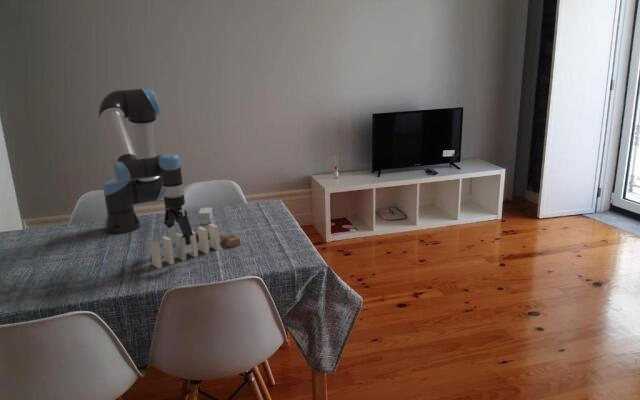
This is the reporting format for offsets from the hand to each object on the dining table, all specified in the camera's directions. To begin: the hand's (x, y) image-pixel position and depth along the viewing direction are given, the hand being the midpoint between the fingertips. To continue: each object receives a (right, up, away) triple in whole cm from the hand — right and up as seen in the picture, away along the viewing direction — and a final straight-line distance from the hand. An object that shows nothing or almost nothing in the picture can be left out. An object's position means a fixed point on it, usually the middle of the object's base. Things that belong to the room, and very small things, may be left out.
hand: (180, 247), depth 197 cm
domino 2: (-4, -6, -2) cm, 7 cm away
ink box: (+5, +3, +25) cm, 26 cm away
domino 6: (+12, -1, +10) cm, 16 cm away
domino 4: (+4, -3, +4) cm, 7 cm away
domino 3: (0, -5, +1) cm, 5 cm away
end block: (+17, 0, +15) cm, 22 cm away
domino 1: (-7, -7, -5) cm, 11 cm away
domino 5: (+8, -2, +7) cm, 11 cm away
